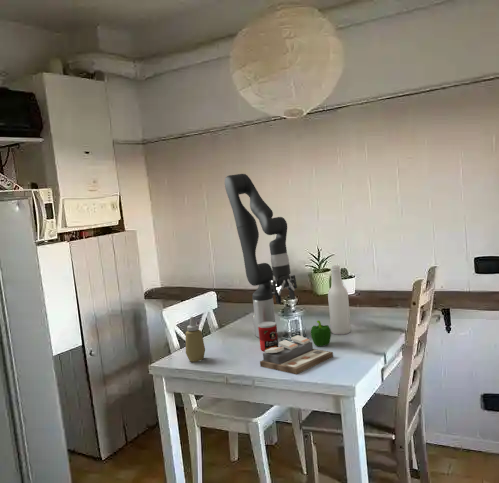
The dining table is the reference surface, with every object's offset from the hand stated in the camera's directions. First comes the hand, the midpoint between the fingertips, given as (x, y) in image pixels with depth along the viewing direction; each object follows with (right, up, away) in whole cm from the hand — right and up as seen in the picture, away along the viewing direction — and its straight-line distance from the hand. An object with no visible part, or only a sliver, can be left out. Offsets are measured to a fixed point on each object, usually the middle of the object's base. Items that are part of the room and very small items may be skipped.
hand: (285, 301), depth 242 cm
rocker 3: (+5, -15, -16) cm, 22 cm away
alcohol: (+25, -15, +11) cm, 31 cm away
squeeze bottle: (-37, -23, -9) cm, 45 cm away
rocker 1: (-6, -17, -27) cm, 32 cm away
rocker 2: (-1, -16, -22) cm, 27 cm away
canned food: (-7, -20, -4) cm, 21 cm away
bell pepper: (+15, -18, -5) cm, 24 cm away
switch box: (+3, -21, -24) cm, 32 cm away
